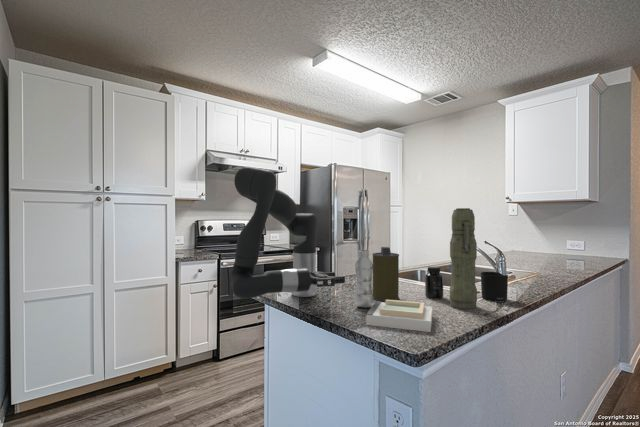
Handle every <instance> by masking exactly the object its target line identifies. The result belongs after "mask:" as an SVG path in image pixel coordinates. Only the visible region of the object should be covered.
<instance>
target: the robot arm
mask: <svg viewBox="0 0 640 427" xmlns="http://www.w3.org/2000/svg"><path fill="white" fill-rule="evenodd" d="M233 181H234V187H235V189H236V191H237V192H238V194H239V195H240V196H242V197H244V198H246V199H248V200H250V201H252V202H254V203H255V204H256V205H255V210H254V212H253V214H252V216H251V218H250V219H249V220H248V222H246V224H245V226H244V227H243V229H242V230H241V231H240V233H239V235H238V236H237V237H238V238H237V241H236V248H235V256H234V262H233V266H232V268H231V269H232V270H231V274H230V275H231V276H230V286H231V289H232V293H233V295H234V296H235V297H237V298H239V299H244V300H245V299H254V298H257V297H260V296H264V295H266V294H274V293H291V296H294V297H301V298H308V297H314V296H316V294H317V292H316V291H317V287H318V288H320V287H321V288H323V287H335V285H338V284H344V283H346V277H345V276H343V275H342V276H341V275H340V276H338V275H337V276H336V272H335V271H331V272H330V271H329V272H324V271H316V270H317V263H316V262H317V252H316V251H317V238H318V237H317V236H318V234H317V233H318V219H317V215H316V214H314V213H308V212H307V213H303V212H301V213H297V212H298V208H297V207H298V206H297V204H296V202H295V201H294V199H292V198H291V196H289V195H288V194H286V193H285V192H284V191H282V190H280V189H277V177H276V175H275V173H274V172H272V170H267V169H264V168H263V169H262V168H259V167H253V166H245V167H242V168H239V169H238V171H237V172H236V173H235V175H234V180H233ZM269 215H270V216H271V217H272V218H273V219H275V220H277V221H278V222H280V223H281V224H282V225H283V226H284V227H285V228H286V229H287V231H289V232H290V233H291V234H292V235H293V236H298V237H305V240H304V241H302V242H300V243H298V244H295V245H294V246H293V252H292V253H293V255H292V256H293V259H292V260H293V261H292V262H293V265H292V266H293V268H286V269H280V270H279V269H278V270H266V271H264V272H263V273H262V274H261V275H255V276H254V270H255V267H256V265H257V264H258V261H259V255H260V248H261V243H262V238H263V233H264V229H265V226H266V223H267V220H268V218H269ZM329 281H330V282H329Z"/></svg>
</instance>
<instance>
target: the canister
mask: <svg viewBox="0 0 640 427" xmlns="http://www.w3.org/2000/svg"><path fill="white" fill-rule="evenodd" d="M371 255H372V264H373V270H372V295H373V300H375V301H380V302H385V300H398V301H400V296H399V293H400V292H399V277H400V274H399V265H400V264H399V263H400V262H399V261H400V260H399V256H400V254H399V253H395V252H392V251H391V247H390V246H381V248H380V252H373V253H372V254H371Z"/></svg>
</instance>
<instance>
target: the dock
mask: <svg viewBox="0 0 640 427" xmlns="http://www.w3.org/2000/svg"><path fill="white" fill-rule="evenodd" d="M375 301H376V302H375V303H374V304H372V306H371V307H370V309H369V310H368V311H367V312H366V326H372V327H373V326H374V327H375V326H376V327H383V328H390V329H391V328H392V329H400V330H408V331H410V330H411V331H418V332H425V333H431V331H432V322H433V306H429V305H428V306H426V305H425V304H426V303H425V302H420V301H419V302H418V301H410V300H409V301H407V300H385V301H378V300H375Z"/></svg>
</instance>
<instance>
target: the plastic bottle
mask: <svg viewBox="0 0 640 427" xmlns="http://www.w3.org/2000/svg"><path fill="white" fill-rule="evenodd" d="M358 256H359V257H358V258H357V259H356V262H355V263H354V269H355V279H356V288H355V289H356V290H355V295H354V303H355V305H356V306H357V307H359V308H364V309H365V308H372V306H373V305H374V304H373V303H374V299H373V285H372V281H373V261H372V260H371V259H370V257H369V256H370V250H368V249H360V250H358Z"/></svg>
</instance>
